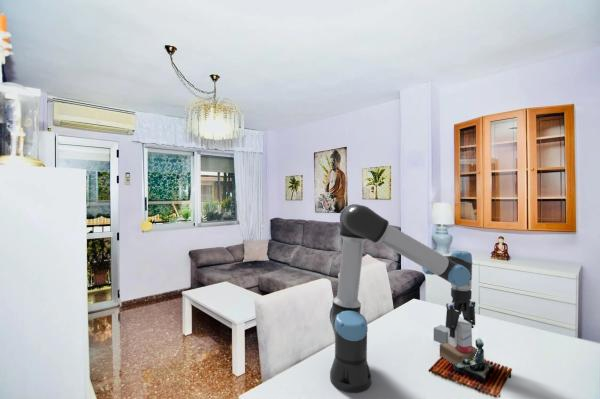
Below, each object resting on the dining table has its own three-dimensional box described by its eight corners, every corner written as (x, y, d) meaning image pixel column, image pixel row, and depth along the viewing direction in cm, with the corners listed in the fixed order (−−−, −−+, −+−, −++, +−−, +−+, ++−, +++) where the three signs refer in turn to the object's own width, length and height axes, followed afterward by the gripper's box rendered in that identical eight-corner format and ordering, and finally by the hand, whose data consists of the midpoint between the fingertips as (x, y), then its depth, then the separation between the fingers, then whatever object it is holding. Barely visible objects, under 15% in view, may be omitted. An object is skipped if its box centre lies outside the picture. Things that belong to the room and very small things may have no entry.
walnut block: (459, 369, 118) (459, 356, 118) (439, 356, 128) (439, 344, 127) (481, 363, 122) (481, 351, 122) (460, 351, 132) (461, 340, 131)
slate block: (445, 345, 137) (445, 332, 137) (433, 340, 142) (433, 327, 142) (452, 342, 140) (453, 329, 140) (440, 337, 145) (440, 324, 145)
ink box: (472, 352, 121) (473, 323, 121) (461, 354, 120) (462, 324, 120) (457, 342, 129) (457, 315, 129) (447, 343, 129) (447, 316, 128)
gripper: (450, 293, 118) (449, 351, 118) (486, 288, 124) (485, 344, 124) (435, 288, 125) (435, 342, 125) (470, 283, 131) (469, 335, 131)
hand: (460, 343), depth 125 cm, fingers open, 6 cm apart
